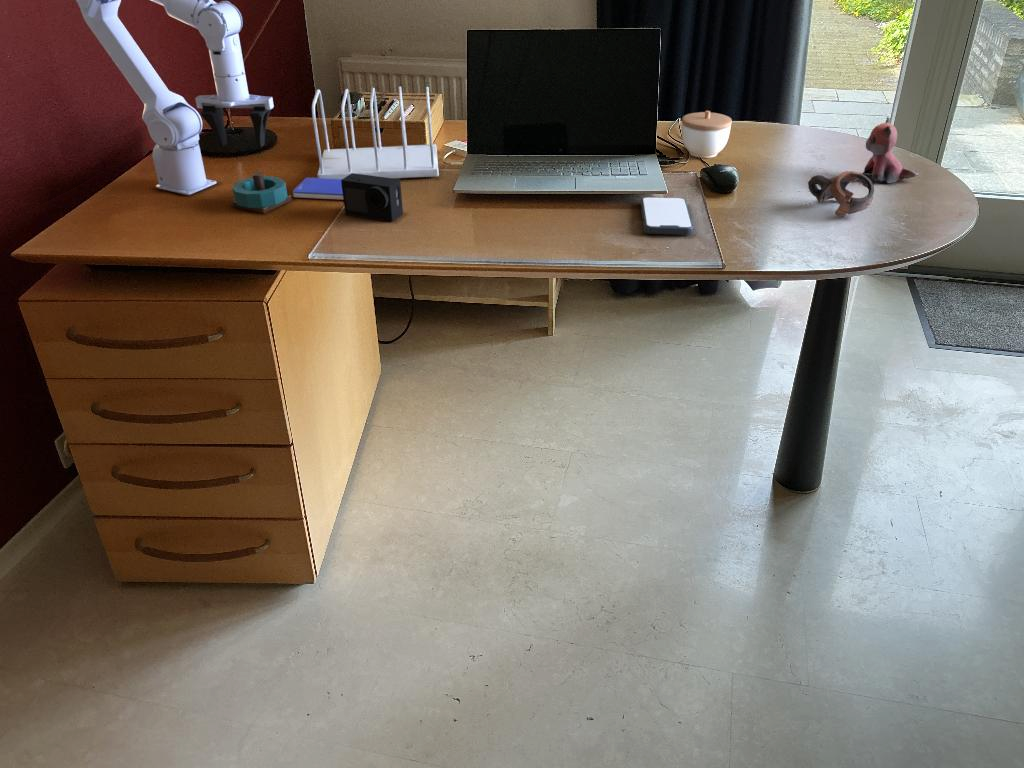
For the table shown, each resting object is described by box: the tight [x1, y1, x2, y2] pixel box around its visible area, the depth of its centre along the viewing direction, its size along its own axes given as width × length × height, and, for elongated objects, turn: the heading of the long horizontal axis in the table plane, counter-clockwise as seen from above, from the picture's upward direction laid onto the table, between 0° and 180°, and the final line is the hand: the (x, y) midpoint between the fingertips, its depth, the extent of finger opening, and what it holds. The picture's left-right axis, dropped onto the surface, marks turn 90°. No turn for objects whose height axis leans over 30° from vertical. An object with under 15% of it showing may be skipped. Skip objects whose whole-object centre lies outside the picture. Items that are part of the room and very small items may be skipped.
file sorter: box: [311, 86, 440, 179], centre depth 182 cm, size 25×17×16 cm
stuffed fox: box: [862, 116, 920, 184], centre depth 174 cm, size 8×11×12 cm
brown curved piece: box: [807, 170, 875, 219], centre depth 162 cm, size 12×10×8 cm
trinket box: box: [681, 110, 733, 159], centre depth 190 cm, size 11×11×9 cm
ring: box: [231, 175, 288, 208], centre depth 168 cm, size 10×10×3 cm
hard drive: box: [292, 177, 344, 201], centre depth 173 cm, size 2×8×12 cm
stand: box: [232, 171, 292, 215], centre depth 167 cm, size 8×8×6 cm
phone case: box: [640, 196, 694, 236], centre depth 160 cm, size 9×2×16 cm
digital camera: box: [341, 173, 404, 222], centre depth 161 cm, size 10×5×7 cm, turn 68°
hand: (242, 145), depth 168 cm, fingers open, 7 cm apart
